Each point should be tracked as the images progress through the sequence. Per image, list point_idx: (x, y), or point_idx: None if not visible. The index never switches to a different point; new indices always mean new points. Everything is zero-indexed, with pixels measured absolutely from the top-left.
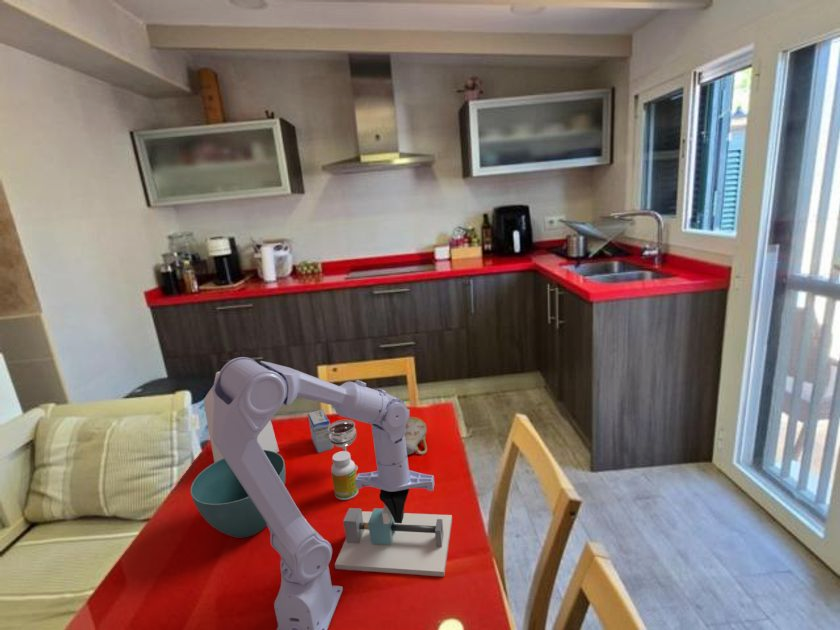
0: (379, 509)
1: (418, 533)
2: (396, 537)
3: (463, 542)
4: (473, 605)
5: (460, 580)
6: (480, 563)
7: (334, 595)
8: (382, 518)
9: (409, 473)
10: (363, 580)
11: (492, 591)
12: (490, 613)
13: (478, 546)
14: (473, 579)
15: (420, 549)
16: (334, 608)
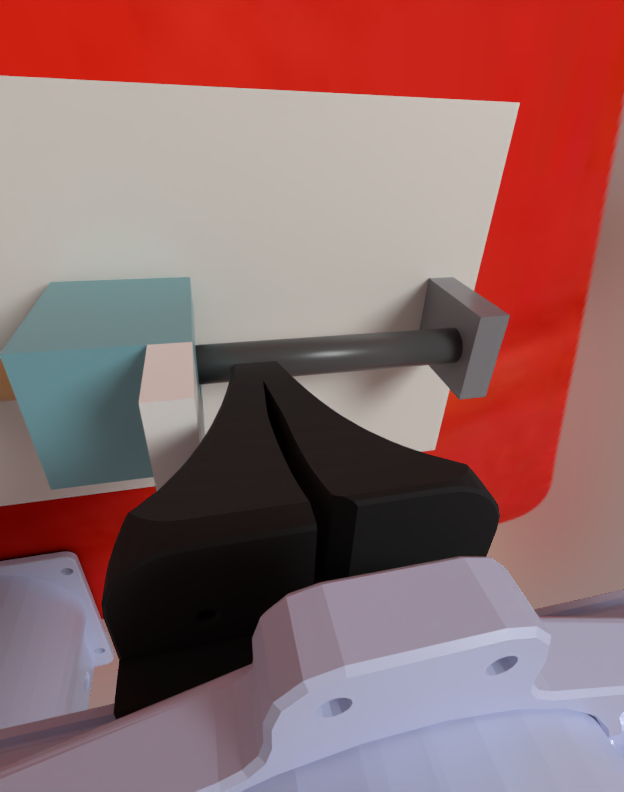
0: (63, 359)
1: (325, 280)
2: (208, 323)
3: (520, 276)
4: (493, 494)
5: (474, 438)
6: (553, 368)
7: (63, 585)
8: (140, 437)
9: (613, 735)
10: (134, 504)
11: (553, 450)
12: (528, 501)
13: (572, 291)
14: (514, 427)
15: (345, 374)
16: (93, 608)
